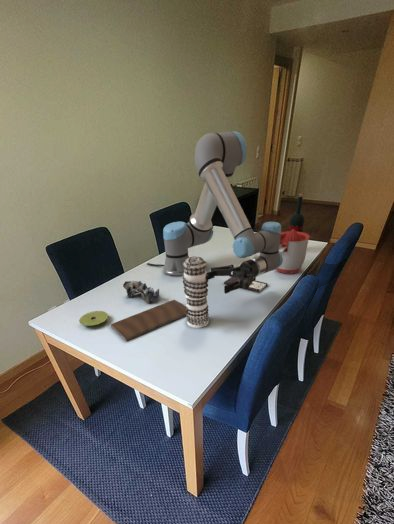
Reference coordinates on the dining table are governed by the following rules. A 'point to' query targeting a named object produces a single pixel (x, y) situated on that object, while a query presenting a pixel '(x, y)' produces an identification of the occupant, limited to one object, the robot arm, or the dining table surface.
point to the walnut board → (149, 319)
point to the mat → (93, 318)
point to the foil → (140, 290)
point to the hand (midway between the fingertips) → (212, 284)
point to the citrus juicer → (292, 251)
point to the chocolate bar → (254, 286)
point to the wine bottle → (297, 217)
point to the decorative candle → (196, 291)
